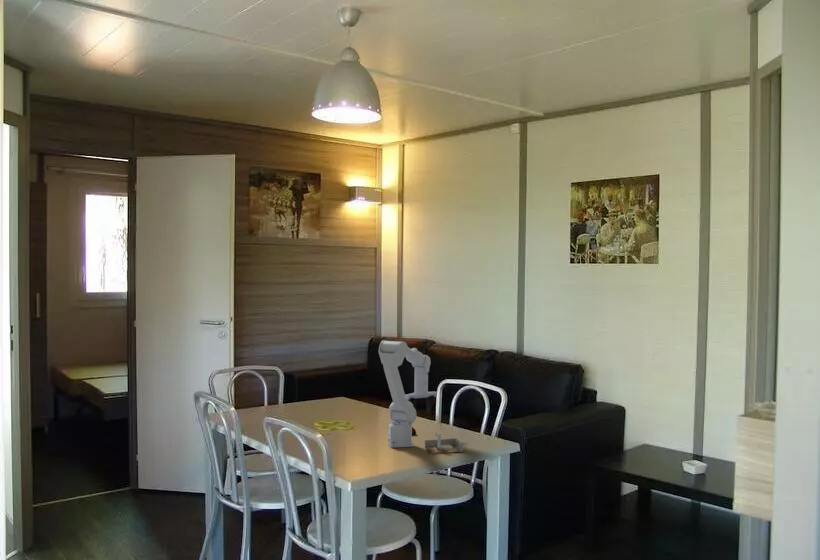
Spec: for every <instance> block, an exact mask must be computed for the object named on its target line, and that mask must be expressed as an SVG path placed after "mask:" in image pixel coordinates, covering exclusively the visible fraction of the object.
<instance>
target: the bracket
mask: <svg viewBox="0 0 820 560" xmlns="http://www.w3.org/2000/svg"><path fill="white" fill-rule="evenodd" d="M434 436H435V437H434V439H435V448H436V449H437V450H452V446H451V445H450V444H447V445H441V439H442V438H441V437H442V435H441V433H440V432H439V431H435V433H434Z"/></svg>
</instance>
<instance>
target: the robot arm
mask: <svg viewBox="0 0 820 560" xmlns="http://www.w3.org/2000/svg"><path fill="white" fill-rule="evenodd" d="M378 355H379V358H380V362H381V365H382V366H383V371H384V375H385V378H386V381H387V384H388V385H387V386H388V389H389V392H390V396H391V399H392V402H391V404H390V405H389V407H388V411H389V419H390V420H391V421H392V423H389V424H388V427H387V433H388V434H387V444H388V445H389V447H390V448H391V449H393V448H395V449H396V448H412V447H413V448H414V447H415V445H414V444H413V441H412V440H413V438H412V437H413V435H412V427H413V426H412V425H413V424H414V423H415V421H416V419H417V416H418V415H417V408H416V407H417V403H418V400H416V399H424V401H425V405H426V407H425V408H426V409H425V411H426V415H431V413H432V409H433V407H434V404H435V402H436V400H437V391H429V372H430V366H431V364H432V363H431V357H430V356H429V355H428V354H423V353H422V352H421V351H420V350H418V348H417V347H412V348H410V347H409V346H408V343H407V342H405V341H396V340H395V341H393V340H386V339H383V340H381V342H380V343H379V346H378ZM404 359H406V361H407V362H409V363H411V366H412V368H414V382H413V383H414V387H413V388H414V391H413V392H411V393H408V394H406V393H405V390H404V386H403V382H402V379H401V375H400V371H399V369H398V368H399V367H400V366H402V365H403V362H404Z"/></svg>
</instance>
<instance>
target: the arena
mask: <svg viewBox="0 0 820 560" xmlns="http://www.w3.org/2000/svg"><path fill="white" fill-rule="evenodd" d="M451 446H452V450H437V449H436V448H435V446H427V447H425V446H424V449H425V450H426V451H427V452H428V453H429V454H430V455H435V454H436V455H438V454H437V453H442V454H454V453H453V452H462V451H460V450H459V449H458V448H457V447H456V446H455V445H451Z"/></svg>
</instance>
